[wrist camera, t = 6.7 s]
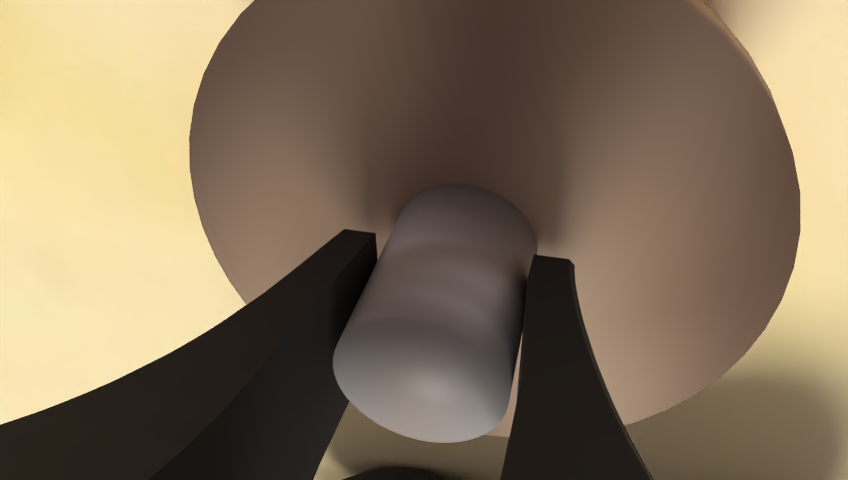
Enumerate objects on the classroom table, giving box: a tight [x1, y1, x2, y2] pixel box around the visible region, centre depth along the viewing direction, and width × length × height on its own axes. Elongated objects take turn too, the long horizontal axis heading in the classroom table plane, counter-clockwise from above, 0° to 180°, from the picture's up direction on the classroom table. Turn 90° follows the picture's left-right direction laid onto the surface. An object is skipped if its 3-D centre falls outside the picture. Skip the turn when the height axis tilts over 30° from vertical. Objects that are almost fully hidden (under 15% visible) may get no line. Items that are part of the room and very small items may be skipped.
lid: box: [189, 0, 800, 443], centre depth 12 cm, size 12×12×4 cm
